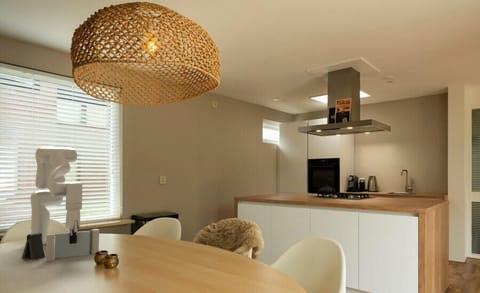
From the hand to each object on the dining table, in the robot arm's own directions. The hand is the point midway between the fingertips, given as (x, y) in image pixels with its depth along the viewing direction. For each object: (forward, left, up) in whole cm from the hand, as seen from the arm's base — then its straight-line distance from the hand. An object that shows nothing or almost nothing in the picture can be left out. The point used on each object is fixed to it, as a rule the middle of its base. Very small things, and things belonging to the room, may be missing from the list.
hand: (73, 243), depth 166 cm
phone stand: (-13, -15, -7) cm, 21 cm away
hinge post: (-2, +11, -7) cm, 13 cm away
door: (-4, +1, -7) cm, 8 cm away
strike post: (-2, -10, -7) cm, 12 cm away
